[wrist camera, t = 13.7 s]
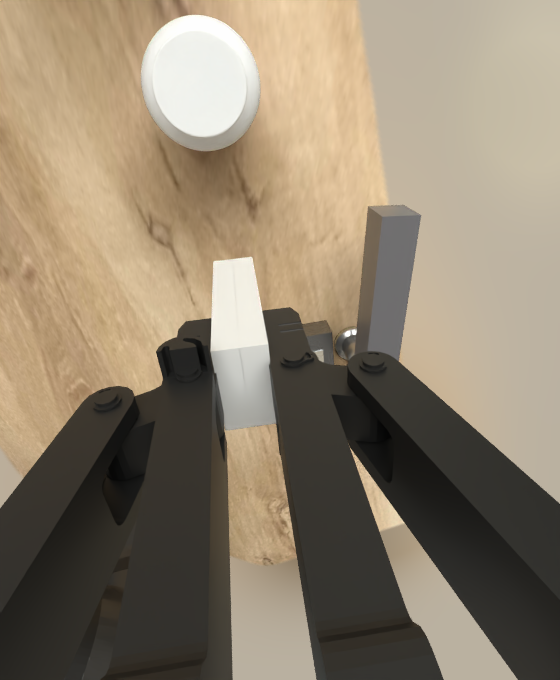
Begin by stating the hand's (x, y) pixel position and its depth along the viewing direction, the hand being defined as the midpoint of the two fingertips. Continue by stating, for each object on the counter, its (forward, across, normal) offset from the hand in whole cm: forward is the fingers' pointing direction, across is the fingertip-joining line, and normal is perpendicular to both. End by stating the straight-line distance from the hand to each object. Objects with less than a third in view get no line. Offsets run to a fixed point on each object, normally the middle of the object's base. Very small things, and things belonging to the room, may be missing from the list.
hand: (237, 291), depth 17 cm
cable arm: (+16, +11, -10) cm, 22 cm away
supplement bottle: (+22, -1, +7) cm, 23 cm away
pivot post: (+22, +10, -17) cm, 29 cm away
